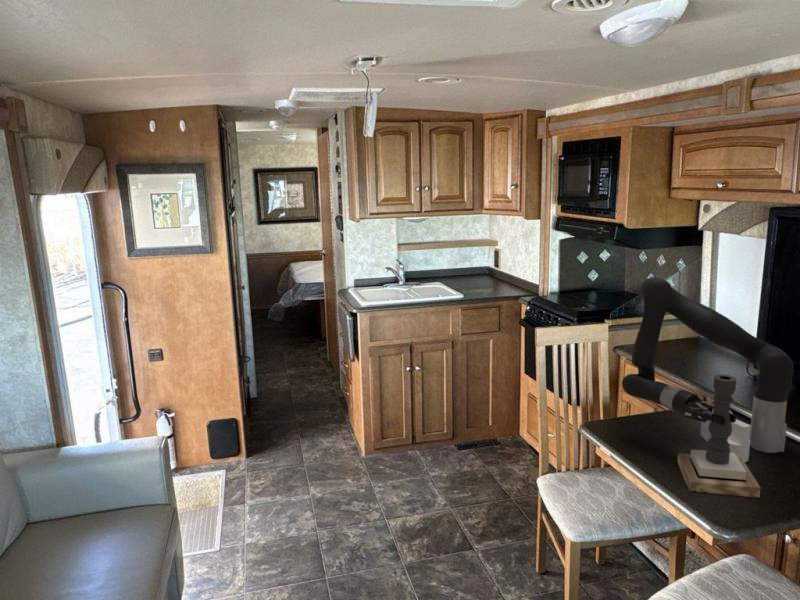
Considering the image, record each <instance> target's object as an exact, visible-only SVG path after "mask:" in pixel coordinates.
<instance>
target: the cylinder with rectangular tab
mask: <svg viewBox="0 0 800 600" xmlns="http://www.w3.org/2000/svg"><path fill="white" fill-rule="evenodd" d="M731 425H732V433H731V435H730V436H729V437H728V439H727V441H728V443H729V444H730V446H729V449H730V453H735V454H736V456H737V458H742V460H743V461H744V463H745V464H746V462H747V463H748V461H749V457H750V447H751V446H750V440H749V438H750V428H751V424H748V423H746V422H744V421H741V420H739V419H737V418H736V422H734V423H733V422H731Z"/></svg>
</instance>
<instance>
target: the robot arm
mask: <svg viewBox="0 0 800 600" xmlns="http://www.w3.org/2000/svg"><path fill="white" fill-rule="evenodd" d="M639 293H640V294H639V295H640V298H641V299H642V300H643V312H642V313H643V314H642V319H641V324H640V326H639V330H638V332H637V335H636V338H635V342H634V344H633V345H634V346H633V349H632V350H633V351H632V355H631V364H632V365H633V366H635V367H637V373H630V374H627V375H625V376H624V377H623V378H622V381H621V387H622V389H623V390H624V392H625V393H626V394H628V395H629V396H632V397H635V398H638V399H642V400H646V401H650V402H653V403H655V404H657V405H659V406H661V407H664V408H665V409H667V410H669V411H672V412H674V413H677V414H679V415H681V416H684V418H687V419H689V420H690V419H691V420H694V421H696V422H697V421H698V422H700V423H701V422H706V420H707V421H709V422H712V421H713V422H715V423H718V424H720V425H726V418H724V417H722V416H719V415H716V414H713V413H714V411H715V400H713V401H712V403H710V402H708V401H704V400H702V399H701V398H700V397H699V395H698V394H697V393H694V392H692V391H689V390H686V389H683V388H680V387H677V386H674V385H670V384H668V383H666V382H662V381H657V380H656V373H655V372H656V371H655V370H656V369H655V359H656V355H657V350H658V345H659V340H660V333H661V330H662V326H663V322H664V318H665V316H666V313H668V314H670V315H672V316H673V317H675V319H677V320H679V321H680V322H681V323H683V325H685V326H686V327H687V328H689V329H691V331H693V332H695V334H697V335H698V336H700V337H702V338H703V339H705V340H707V341H709V342H710V343H713V344H714V345H717V346H719V347H721V348H724V349H726V350H730V351H732V352H735V353H736V354H738V355H740V356H741V357H743V358H744V359H745V360H747V361H749V362H750V363H751V364H752V365H754V366H755V368H756V369H758V370H759V371H758V379H757V380H758V381H757V385H755V387H754V391H753V397H752V399H753V400H752V410H751V420H750V425H751V428H750V438H749V440H750V447H751V448H752V449H753V450H756V451H758V452H759V451H760V452H763V453H768V454H770V453H771V454H776V453H784V452H785V445H786V444H785V443H786V437H787V436H786V435H787V428H788V427H787V426H788V424H787V423H786V422H785V421H786V414H787V403H788V396H789V394H790V393H791V388H792V382H793V378H794V377H793V375H794V362H793V360H792V358H791V357H790V356H789V355H788V354H787V353H786V352H785V351H784V350H782V349H781V348H779V347H777V346H774V345H772V344H770V343H768V342H766V341H763V340H762V339H760V338H757V337H756V336H754V335H752V334H751V333H749V332H748V331H746V330H745V329H744V328H743V327H741V326H740V325H738V324H737V323H736V322H735V321H733V320H731V319H730V318H728V317H727V316H725V315H723V314H722V313H719V312H718V311H717V310H716V309H713V308H711V307H709V306H707V305H705V304H702V303H700V302H698V301H695V300H693V299H690V298H689V297H687V296H685V295H684V294H682V293H680V292H679V291H678V290H676V289H675V288H673V286H672V285H671V284H670V282H669V281H667V280H665V279H664V278H661V277H650V278H647V279H645V280H644V281H643V282H642V283H641V284H640V287H639ZM712 409H713V413H712ZM730 419H731V422H733V423H734V422H736V419H737V415H736V414H734V413H733V414H731V413H730Z"/></svg>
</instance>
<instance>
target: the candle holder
mask: <svg viewBox="0 0 800 600" xmlns="http://www.w3.org/2000/svg"><path fill="white" fill-rule="evenodd" d="M712 385H713V386H712V387H713V390H714V392H715V394H714V395H713V396H712V399H713V401H715V411H714V413H713V414H716V415H719V416H722V417H724V418H726V425H720V424H718V423H715V422H713V421H712V422H710V424H709V427H708V429H709V432H710V433H711V437H712V438H710V440H708V442H707V444H706V449H705V451H706V458H707V459H708V460H710V461H712V462H715V463H727V462H729V456H730V449H729V446H730V444H729V443H728V441H727V439H728V437H729V436H730V435H731V433H732V425H731V419H730V413H729V412H730V411H731V404H732V403H733V402H734V398H733V397H732V396H733V394H734V393H735V391H736V387H737V378H736V377H734V376H732V375H728V374H716V375H714V376H713V384H712Z"/></svg>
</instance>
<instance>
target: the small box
mask: <svg viewBox="0 0 800 600" xmlns="http://www.w3.org/2000/svg"><path fill="white" fill-rule="evenodd" d="M712 413H713V409H712ZM729 413H731V414H734V413H733V412H732V411H731V410H730V412H729ZM709 424H710V422H709V421H707V420H706V422H701V421H700V436H701V437H702V438H703V440H704V441H705V442H707V443H708V440H710V438H712V437H711V433H710V432H709V429H708V427H709Z"/></svg>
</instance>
